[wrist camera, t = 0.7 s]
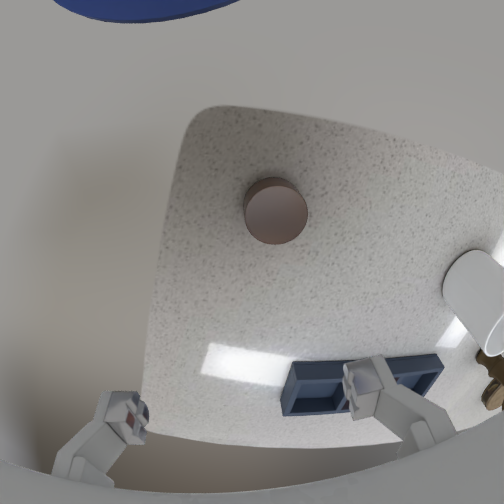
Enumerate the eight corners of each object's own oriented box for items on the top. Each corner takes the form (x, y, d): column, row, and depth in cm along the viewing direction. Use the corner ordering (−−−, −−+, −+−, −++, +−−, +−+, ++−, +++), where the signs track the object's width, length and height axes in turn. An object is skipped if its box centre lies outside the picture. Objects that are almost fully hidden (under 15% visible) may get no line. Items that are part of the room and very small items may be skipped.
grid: (292, 361, 36) (296, 380, 33) (436, 353, 39) (445, 367, 36) (279, 399, 40) (282, 416, 37) (413, 388, 43) (420, 401, 40)
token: (247, 174, 25) (249, 181, 23) (306, 181, 26) (313, 189, 24) (240, 229, 28) (241, 241, 25) (295, 234, 28) (301, 247, 26)
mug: (489, 299, 35) (528, 344, 26) (446, 330, 37) (482, 381, 27) (485, 235, 30) (539, 281, 21) (435, 270, 31) (485, 326, 22)
